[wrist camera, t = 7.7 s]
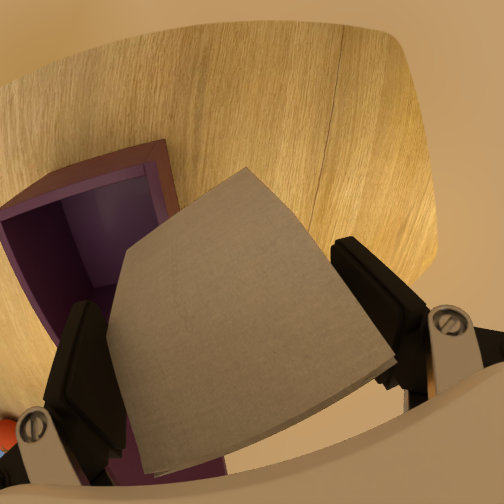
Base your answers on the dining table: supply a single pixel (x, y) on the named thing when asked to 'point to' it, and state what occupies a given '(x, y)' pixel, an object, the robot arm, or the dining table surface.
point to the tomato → (7, 434)
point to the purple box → (85, 228)
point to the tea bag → (233, 328)
